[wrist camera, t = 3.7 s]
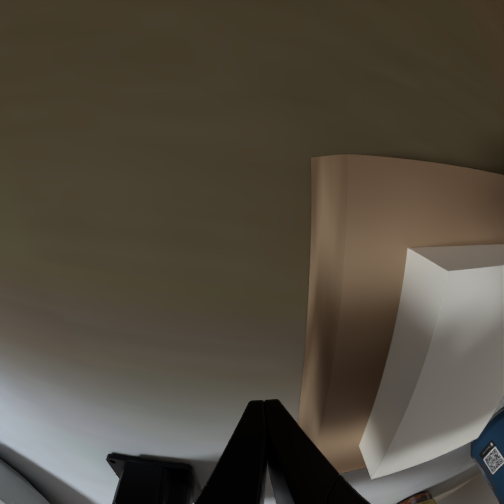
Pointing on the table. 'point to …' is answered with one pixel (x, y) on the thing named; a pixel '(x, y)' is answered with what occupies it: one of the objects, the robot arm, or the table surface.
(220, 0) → the table surface
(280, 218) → the table surface
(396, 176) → the tan square plate
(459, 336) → the white rectangular block
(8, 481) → the serving bowl
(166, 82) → the table surface
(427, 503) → the sauce bottle
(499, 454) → the soda can
